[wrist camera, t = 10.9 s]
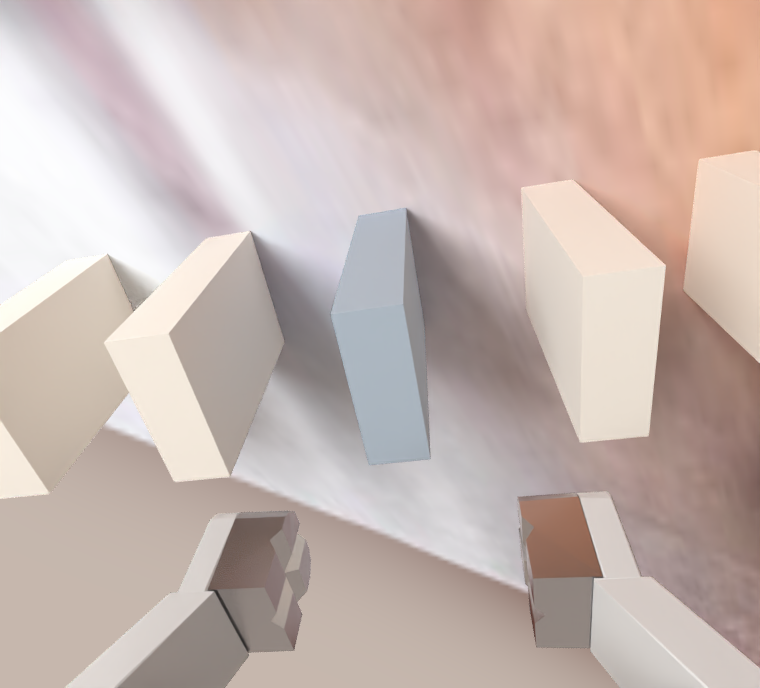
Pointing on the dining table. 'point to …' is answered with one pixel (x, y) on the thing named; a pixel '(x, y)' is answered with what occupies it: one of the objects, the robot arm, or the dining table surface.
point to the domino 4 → (592, 309)
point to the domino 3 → (384, 339)
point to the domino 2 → (201, 356)
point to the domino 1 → (57, 371)
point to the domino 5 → (727, 245)
